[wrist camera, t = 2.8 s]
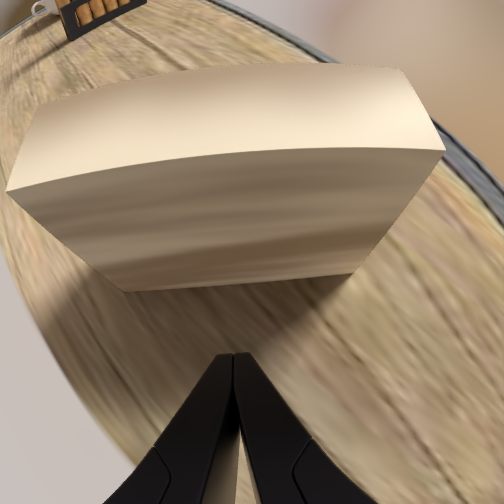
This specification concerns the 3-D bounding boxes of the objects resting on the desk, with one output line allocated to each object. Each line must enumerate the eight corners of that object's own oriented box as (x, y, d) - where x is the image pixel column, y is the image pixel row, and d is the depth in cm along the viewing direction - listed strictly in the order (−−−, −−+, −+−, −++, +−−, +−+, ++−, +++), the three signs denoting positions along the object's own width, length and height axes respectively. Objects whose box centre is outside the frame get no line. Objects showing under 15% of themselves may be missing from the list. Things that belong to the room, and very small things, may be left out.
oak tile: (353, 273, 16) (446, 150, 7) (124, 292, 16) (5, 191, 7) (340, 213, 18) (401, 69, 8) (127, 232, 18) (38, 105, 8)
